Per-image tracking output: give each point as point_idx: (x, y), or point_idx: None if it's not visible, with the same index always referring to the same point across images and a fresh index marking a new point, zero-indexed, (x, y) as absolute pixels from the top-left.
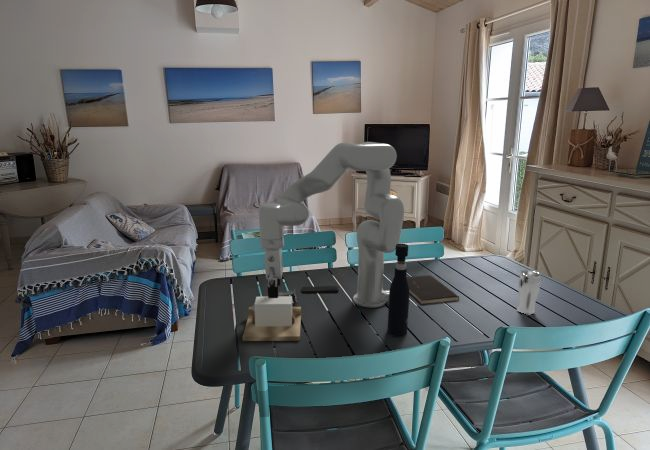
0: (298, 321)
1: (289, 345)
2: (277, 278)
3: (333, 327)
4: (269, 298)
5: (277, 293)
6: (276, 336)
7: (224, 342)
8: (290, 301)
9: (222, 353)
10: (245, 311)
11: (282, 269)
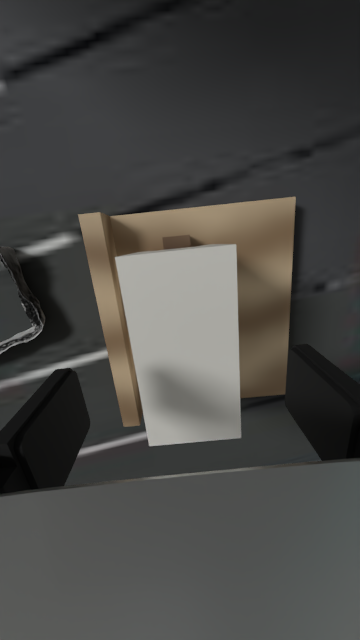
0: (168, 219)
1: (317, 236)
2: (49, 430)
3: (171, 36)
4: (166, 384)
5: (327, 364)
6: (290, 290)
7: (283, 426)
8: (198, 256)
9: None
10: (91, 419)
11: (79, 571)
